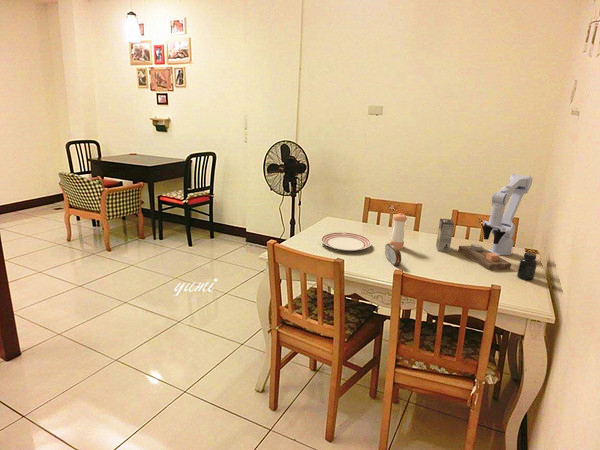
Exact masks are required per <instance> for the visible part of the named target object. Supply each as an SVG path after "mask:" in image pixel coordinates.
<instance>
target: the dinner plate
mask: <svg viewBox="0 0 600 450" xmlns="http://www.w3.org/2000/svg"><path fill="white" fill-rule="evenodd" d="M320 241H321V243H322V244H323V245H325V246H327V247H329V248H331V249H335V250H339V251H343V252H355V251H356V252H357V251H362V250H365V249H368V248H369V247H370V246H371V245H372V240H371V239H369V238H368V237H367V236H364V235H362V234H358V233H353V232H346V231H345V232H343V231H339V232H338V231H337V232H329V233H326V234H324V235H323V236H321V237H320Z"/></svg>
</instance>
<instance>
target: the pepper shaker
mask: <svg viewBox="0 0 600 450" xmlns="http://www.w3.org/2000/svg"><path fill="white" fill-rule="evenodd" d="M407 219H408V217H407V215H406V214H403V212H399V213H396V214H395V215H393V221H394V222H393V229H392V232H391V238H390V241H389V243H393V244H394V245H395V246H396V247H397V248H398V249H399V250H401V249H403V248H404V245H405V241H404V238H405V223H406V222H407Z"/></svg>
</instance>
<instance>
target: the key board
mask: <svg viewBox="0 0 600 450" xmlns="http://www.w3.org/2000/svg"><path fill="white" fill-rule="evenodd" d="M457 252H459V253H460V254H462V255H463V256H466V257H467V258H468V259H470V260H471V261H473V262H474V263H476V264H478V265H480V266H481V267H483V268H484V269H486V270H488V271H498V270H499V271H500V270H501V271H504V270H511V268H512V263H511V262H509V261H507V260H506V259H504V258H502V257H500V256H499V259H498V261H490V260H488V259H486V254H487V253H492V252H490V251H488V249H486V248H484V247H483V248H482V251H481V252H475V251H473V250H471V245H459V246H458V249H457Z"/></svg>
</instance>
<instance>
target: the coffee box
mask: <svg viewBox="0 0 600 450" xmlns="http://www.w3.org/2000/svg"><path fill="white" fill-rule="evenodd" d="M454 227H455V223H454V221H453V219H450V218H439V225H438V229H437V230H438V231H437V237H436V242H435V243H436V244H435V246H436V250H437V251H439V252H444V253H445V252H446V253H450V250H451V244H452V238H453V233H454Z"/></svg>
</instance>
